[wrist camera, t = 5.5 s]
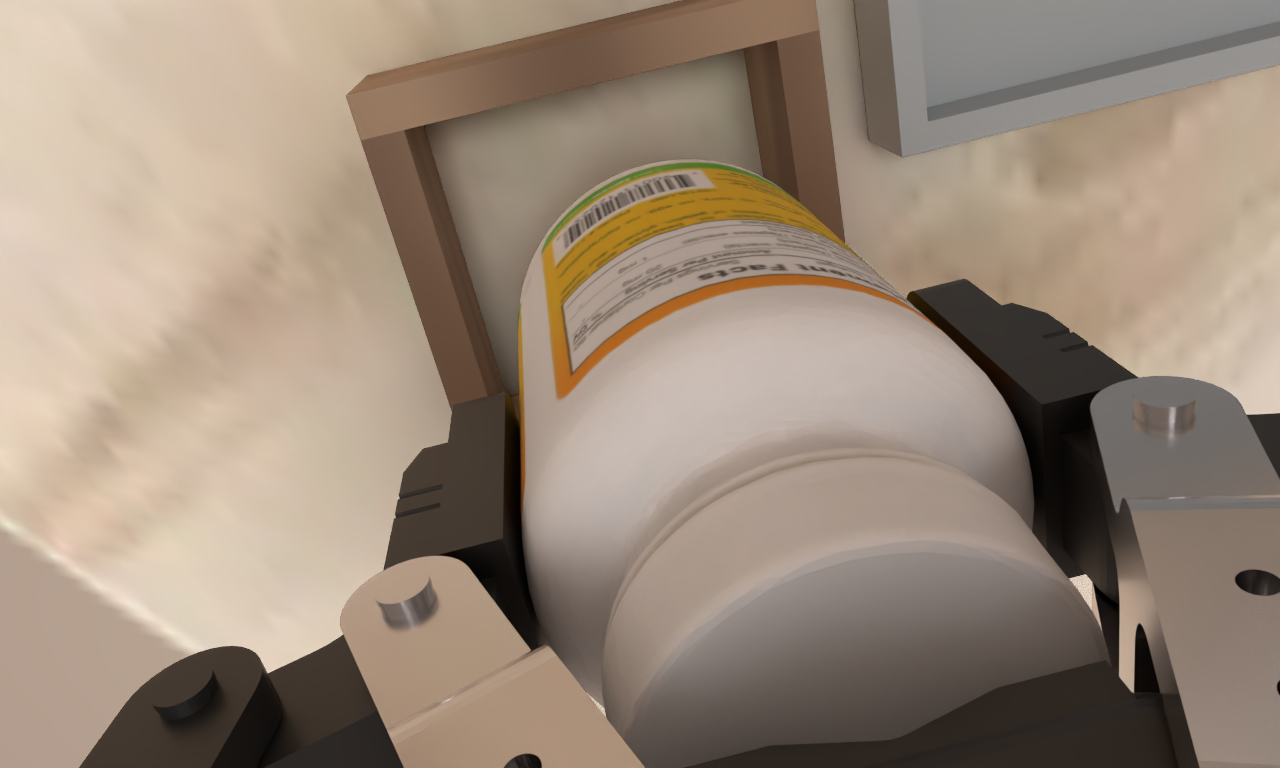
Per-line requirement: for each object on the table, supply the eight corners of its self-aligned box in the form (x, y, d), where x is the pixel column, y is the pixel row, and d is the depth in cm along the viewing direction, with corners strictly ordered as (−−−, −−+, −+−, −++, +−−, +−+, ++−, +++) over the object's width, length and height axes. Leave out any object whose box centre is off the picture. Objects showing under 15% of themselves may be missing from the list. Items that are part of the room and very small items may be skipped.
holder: (771, -21, 20) (812, -16, 17) (822, 349, 24) (864, 400, 21) (367, 75, 20) (345, 96, 17) (483, 434, 23) (481, 497, 21)
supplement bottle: (747, 490, 18) (974, 1024, 9) (470, 396, 16) (421, 925, 8) (891, 228, 16) (1350, 579, 7) (595, 95, 15) (719, 335, 6)
